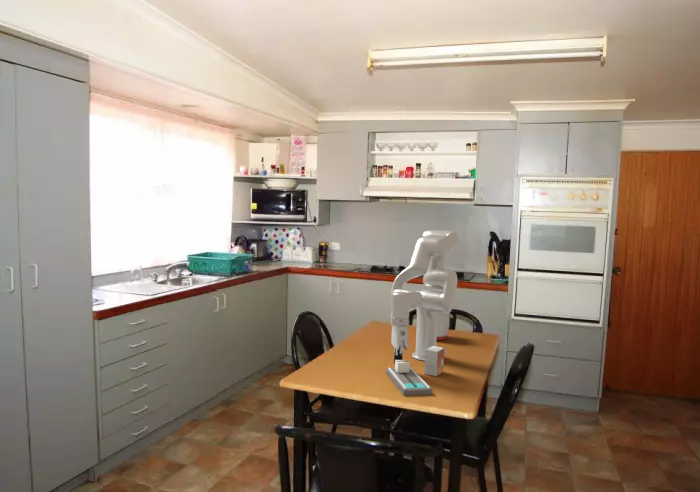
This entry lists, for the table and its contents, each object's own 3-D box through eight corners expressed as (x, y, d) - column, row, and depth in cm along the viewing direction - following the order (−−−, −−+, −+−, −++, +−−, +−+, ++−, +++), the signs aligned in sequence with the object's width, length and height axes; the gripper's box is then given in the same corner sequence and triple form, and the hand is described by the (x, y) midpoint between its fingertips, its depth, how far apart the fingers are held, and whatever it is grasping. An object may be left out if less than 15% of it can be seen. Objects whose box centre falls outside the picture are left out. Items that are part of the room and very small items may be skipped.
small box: (436, 376, 202) (437, 351, 201) (423, 374, 205) (425, 349, 204) (443, 371, 209) (444, 347, 208) (431, 369, 212) (432, 345, 211)
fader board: (411, 372, 206) (411, 366, 206) (431, 394, 182) (432, 387, 182) (386, 373, 204) (386, 367, 204) (403, 395, 180) (403, 388, 180)
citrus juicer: (454, 342, 258) (456, 305, 256) (422, 341, 258) (423, 303, 257) (449, 335, 273) (450, 299, 272) (418, 334, 274) (419, 298, 272)
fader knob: (406, 369, 203) (406, 359, 203) (409, 372, 199) (409, 362, 199) (394, 369, 202) (395, 359, 202) (397, 372, 198) (397, 362, 198)
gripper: (413, 325, 198) (411, 369, 200) (403, 317, 213) (401, 358, 214) (395, 325, 197) (394, 369, 198) (386, 317, 212) (384, 359, 213)
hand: (398, 364), depth 206 cm, fingers closed
